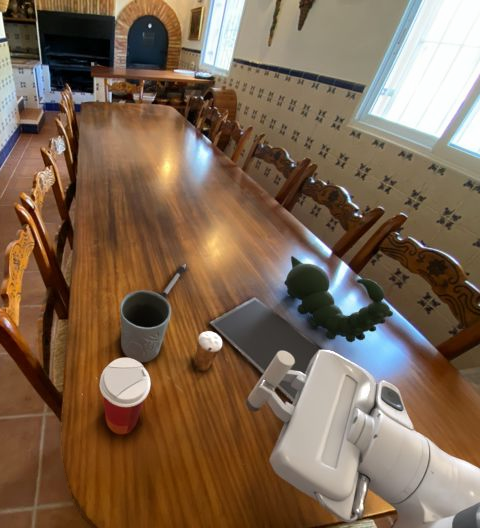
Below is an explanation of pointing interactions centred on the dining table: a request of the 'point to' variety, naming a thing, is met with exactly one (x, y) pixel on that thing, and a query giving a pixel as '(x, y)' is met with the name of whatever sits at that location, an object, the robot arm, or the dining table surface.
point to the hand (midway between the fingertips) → (263, 376)
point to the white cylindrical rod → (271, 377)
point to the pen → (173, 281)
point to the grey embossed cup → (143, 324)
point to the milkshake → (207, 350)
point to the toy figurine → (322, 303)
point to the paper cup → (124, 393)
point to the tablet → (265, 339)
